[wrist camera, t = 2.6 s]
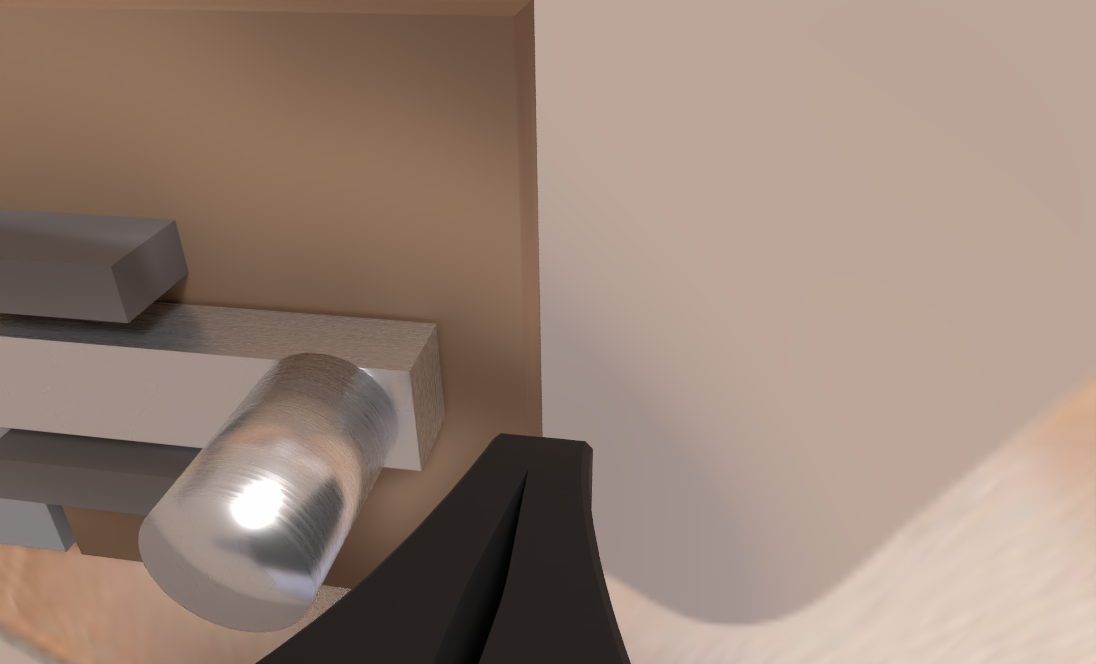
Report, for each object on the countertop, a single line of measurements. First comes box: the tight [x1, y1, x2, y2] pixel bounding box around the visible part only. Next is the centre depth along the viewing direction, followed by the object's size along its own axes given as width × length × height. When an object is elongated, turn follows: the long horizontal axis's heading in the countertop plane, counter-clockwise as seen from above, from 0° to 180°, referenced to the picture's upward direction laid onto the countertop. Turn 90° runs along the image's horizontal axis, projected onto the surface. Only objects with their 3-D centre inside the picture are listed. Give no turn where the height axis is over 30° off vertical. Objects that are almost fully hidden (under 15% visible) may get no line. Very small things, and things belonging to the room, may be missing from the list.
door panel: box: [0, 0, 542, 589], centre depth 15 cm, size 12×11×3 cm
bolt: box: [0, 302, 445, 632], centre depth 13 cm, size 2×9×5 cm, turn 90°
